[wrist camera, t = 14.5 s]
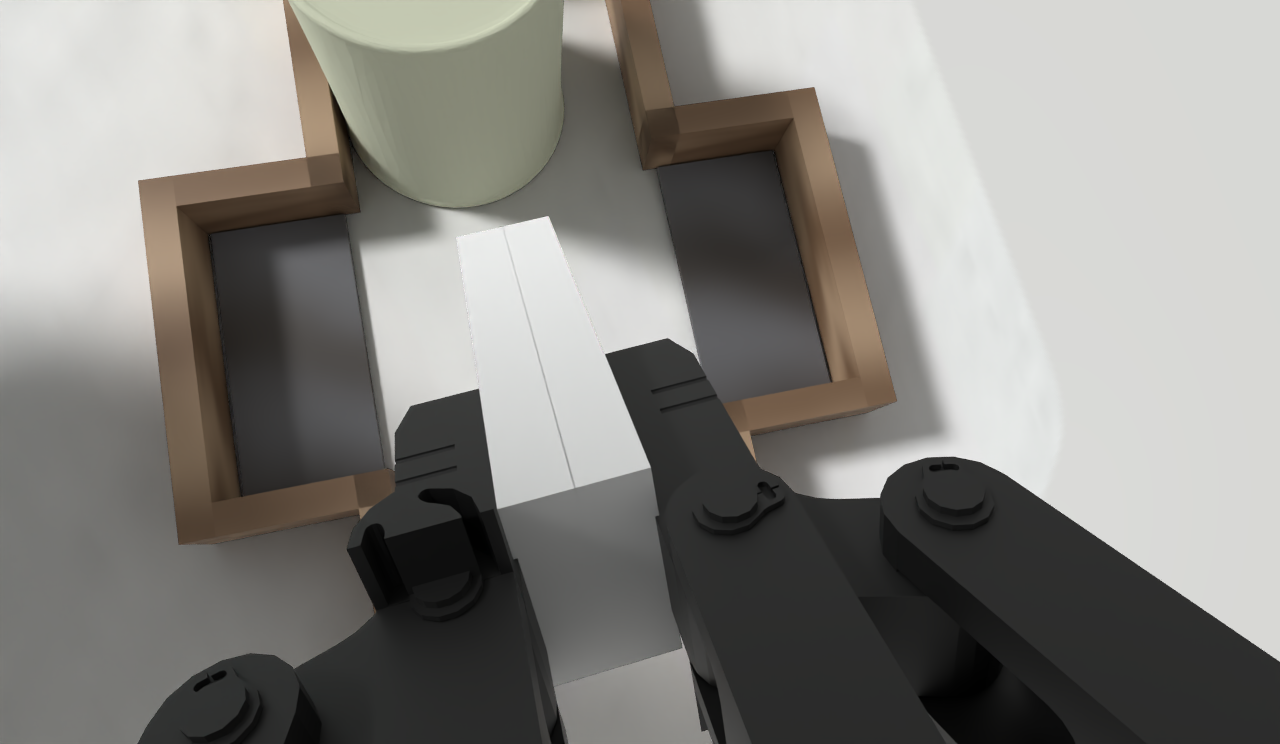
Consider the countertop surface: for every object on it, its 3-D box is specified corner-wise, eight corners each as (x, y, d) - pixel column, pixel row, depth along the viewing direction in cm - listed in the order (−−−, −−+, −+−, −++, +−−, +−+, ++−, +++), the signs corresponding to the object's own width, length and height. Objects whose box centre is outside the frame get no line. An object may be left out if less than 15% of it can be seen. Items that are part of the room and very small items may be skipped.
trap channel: (931, 661, 34) (1013, 687, 28) (247, 833, 30) (174, 906, 24) (735, -101, 40) (769, -212, 34) (143, -41, 36) (64, -154, 30)
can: (603, 84, 37) (631, -126, 25) (486, 249, 35) (456, 104, 23) (428, -26, 37) (373, -287, 25) (300, 132, 35) (177, -72, 23)
